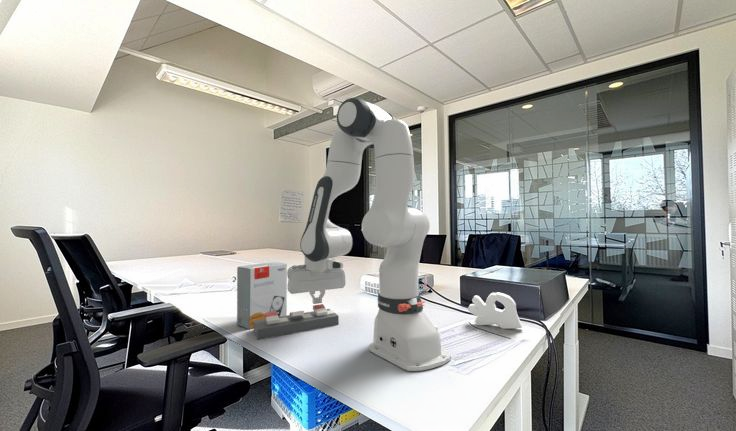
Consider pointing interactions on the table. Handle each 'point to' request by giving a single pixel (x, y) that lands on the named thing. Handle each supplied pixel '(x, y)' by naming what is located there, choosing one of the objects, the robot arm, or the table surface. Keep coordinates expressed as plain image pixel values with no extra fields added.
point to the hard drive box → (261, 292)
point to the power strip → (294, 324)
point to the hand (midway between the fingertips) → (317, 303)
